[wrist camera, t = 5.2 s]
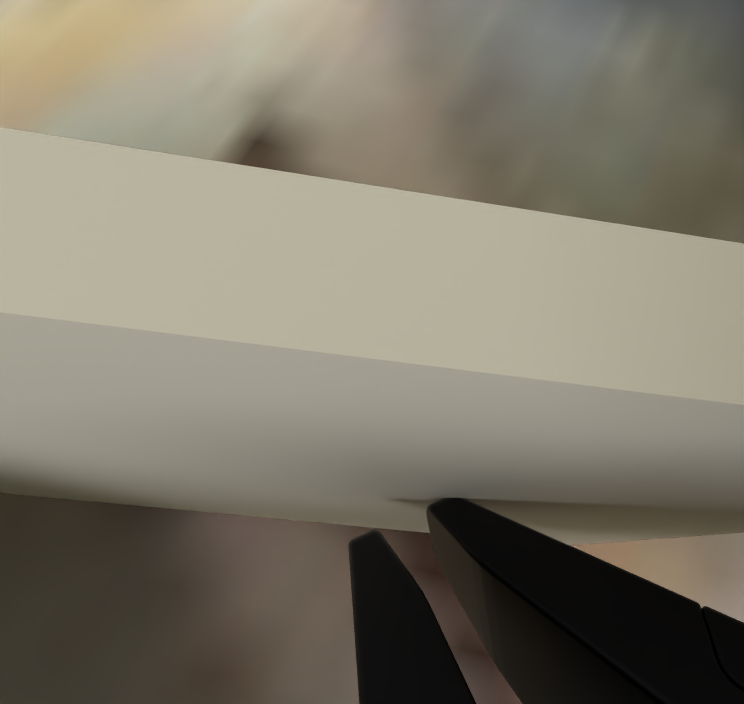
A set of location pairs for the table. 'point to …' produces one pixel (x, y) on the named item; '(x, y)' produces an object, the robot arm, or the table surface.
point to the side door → (358, 351)
